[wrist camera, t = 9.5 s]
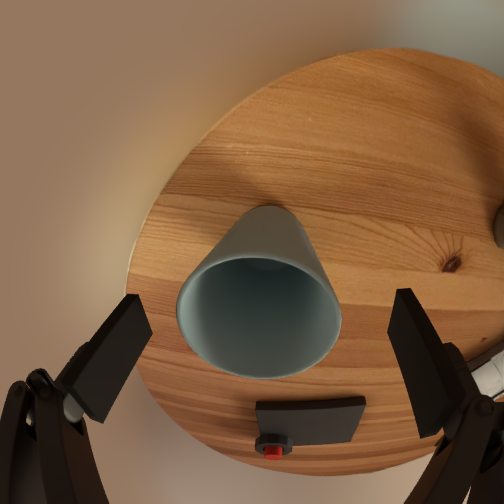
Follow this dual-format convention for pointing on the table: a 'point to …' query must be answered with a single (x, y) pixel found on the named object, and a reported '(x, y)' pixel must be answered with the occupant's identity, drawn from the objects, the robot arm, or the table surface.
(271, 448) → the button
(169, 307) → the table surface
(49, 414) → the robot arm
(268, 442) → the scale
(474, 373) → the picture frame
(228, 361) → the cup
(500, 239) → the kendama
